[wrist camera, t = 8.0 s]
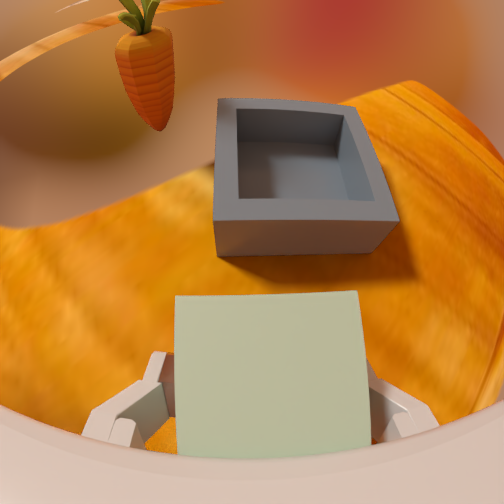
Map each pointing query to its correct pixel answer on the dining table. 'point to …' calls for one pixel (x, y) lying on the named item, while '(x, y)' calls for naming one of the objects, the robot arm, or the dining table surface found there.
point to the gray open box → (296, 180)
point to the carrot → (147, 64)
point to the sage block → (270, 375)
